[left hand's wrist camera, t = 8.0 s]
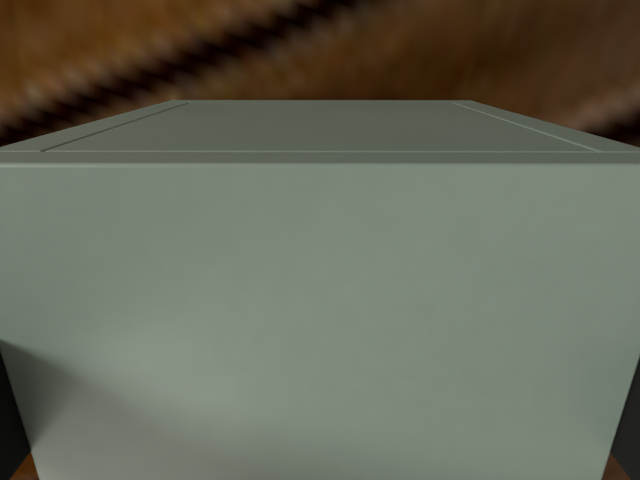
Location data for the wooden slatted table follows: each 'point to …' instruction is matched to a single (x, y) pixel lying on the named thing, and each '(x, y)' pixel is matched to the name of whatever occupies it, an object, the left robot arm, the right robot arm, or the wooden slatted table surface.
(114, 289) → the cabinet
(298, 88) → the wooden slatted table surface
